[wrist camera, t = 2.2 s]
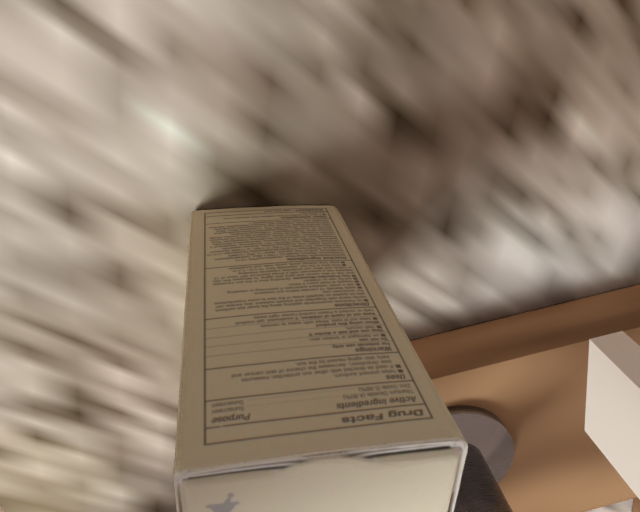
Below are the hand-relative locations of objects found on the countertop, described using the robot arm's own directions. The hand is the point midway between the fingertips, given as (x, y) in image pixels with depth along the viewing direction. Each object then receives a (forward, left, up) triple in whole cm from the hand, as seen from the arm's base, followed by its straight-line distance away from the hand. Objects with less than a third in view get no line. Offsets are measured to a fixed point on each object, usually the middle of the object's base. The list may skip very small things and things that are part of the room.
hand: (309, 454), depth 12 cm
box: (0, 0, -9) cm, 9 cm away
